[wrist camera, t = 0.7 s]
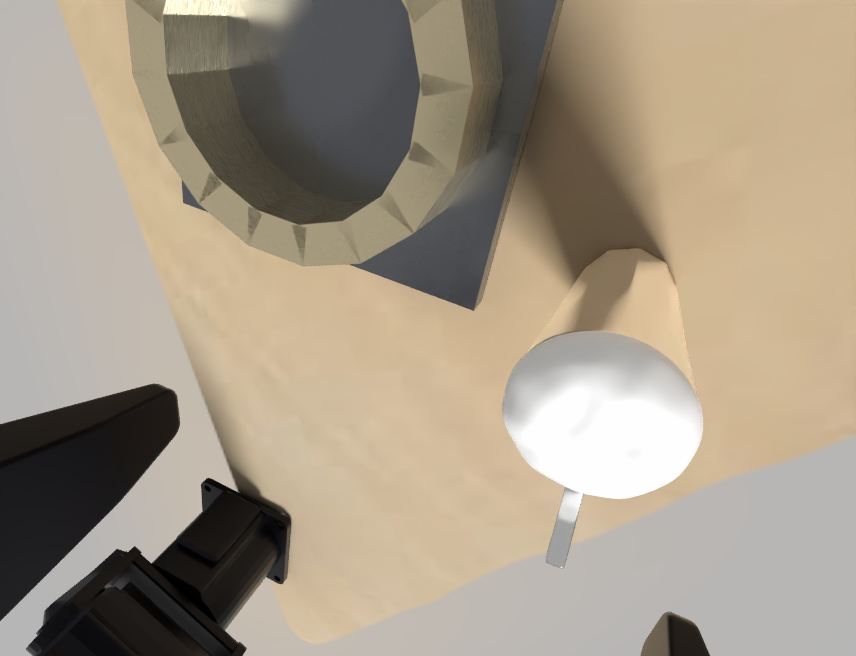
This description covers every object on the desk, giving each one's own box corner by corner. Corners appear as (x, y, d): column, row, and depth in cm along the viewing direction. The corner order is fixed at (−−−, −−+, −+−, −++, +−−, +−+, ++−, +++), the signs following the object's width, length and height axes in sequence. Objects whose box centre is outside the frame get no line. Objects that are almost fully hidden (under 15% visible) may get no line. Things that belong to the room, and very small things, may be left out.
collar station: (481, 300, 22) (446, 346, 19) (199, 197, 26) (128, 222, 22) (604, -148, 15) (580, -197, 12) (182, -213, 18) (71, -265, 15)
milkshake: (546, 344, 22) (463, 530, 14) (577, 215, 19) (497, 352, 11) (665, 378, 21) (651, 604, 13) (716, 245, 18) (741, 423, 10)
